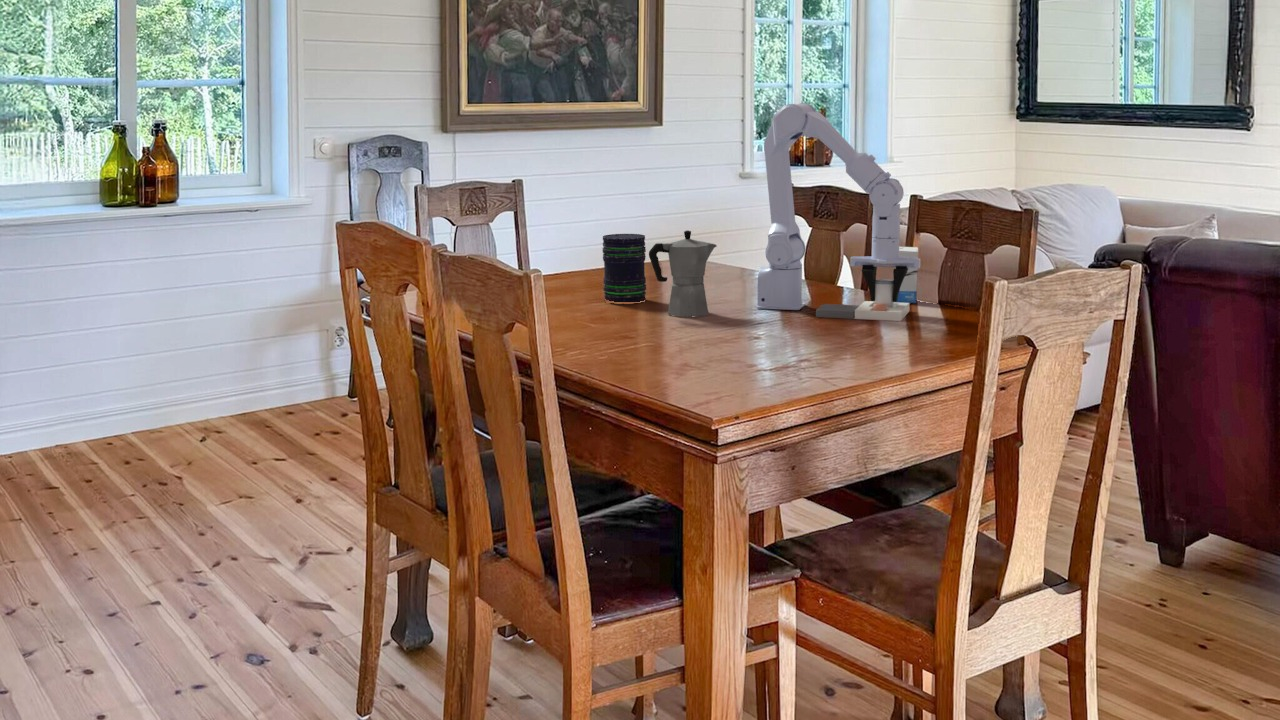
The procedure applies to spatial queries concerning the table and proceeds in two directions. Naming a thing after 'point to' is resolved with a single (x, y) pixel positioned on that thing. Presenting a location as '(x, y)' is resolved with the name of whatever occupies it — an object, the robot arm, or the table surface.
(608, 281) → the storage jar
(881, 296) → the cylinder
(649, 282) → the table surface
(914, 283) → the ink box
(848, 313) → the pad
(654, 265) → the coffeepot
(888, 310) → the white plate with holes
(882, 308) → the peach rounded piece
